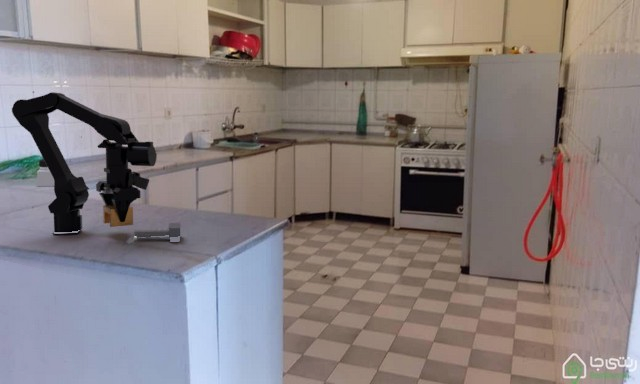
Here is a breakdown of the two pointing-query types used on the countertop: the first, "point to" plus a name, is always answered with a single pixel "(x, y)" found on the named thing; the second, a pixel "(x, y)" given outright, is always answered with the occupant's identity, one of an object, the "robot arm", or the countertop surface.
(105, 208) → the wooden u-channel block
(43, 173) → the medicine bottle
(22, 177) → the countertop surface
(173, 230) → the hammer
